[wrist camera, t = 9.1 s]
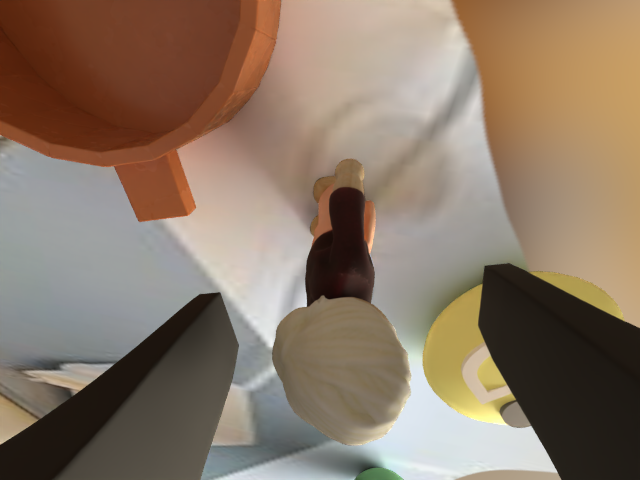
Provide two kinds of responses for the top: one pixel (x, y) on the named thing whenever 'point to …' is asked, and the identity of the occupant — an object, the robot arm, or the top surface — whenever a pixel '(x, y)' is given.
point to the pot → (130, 83)
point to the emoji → (485, 354)
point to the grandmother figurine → (342, 324)
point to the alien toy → (378, 475)
